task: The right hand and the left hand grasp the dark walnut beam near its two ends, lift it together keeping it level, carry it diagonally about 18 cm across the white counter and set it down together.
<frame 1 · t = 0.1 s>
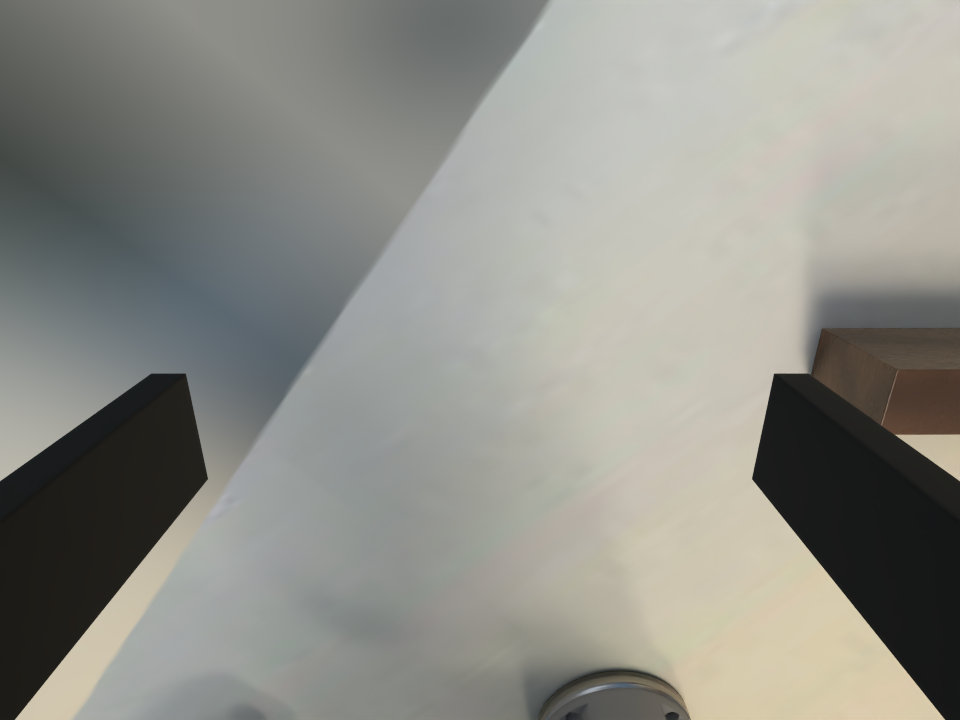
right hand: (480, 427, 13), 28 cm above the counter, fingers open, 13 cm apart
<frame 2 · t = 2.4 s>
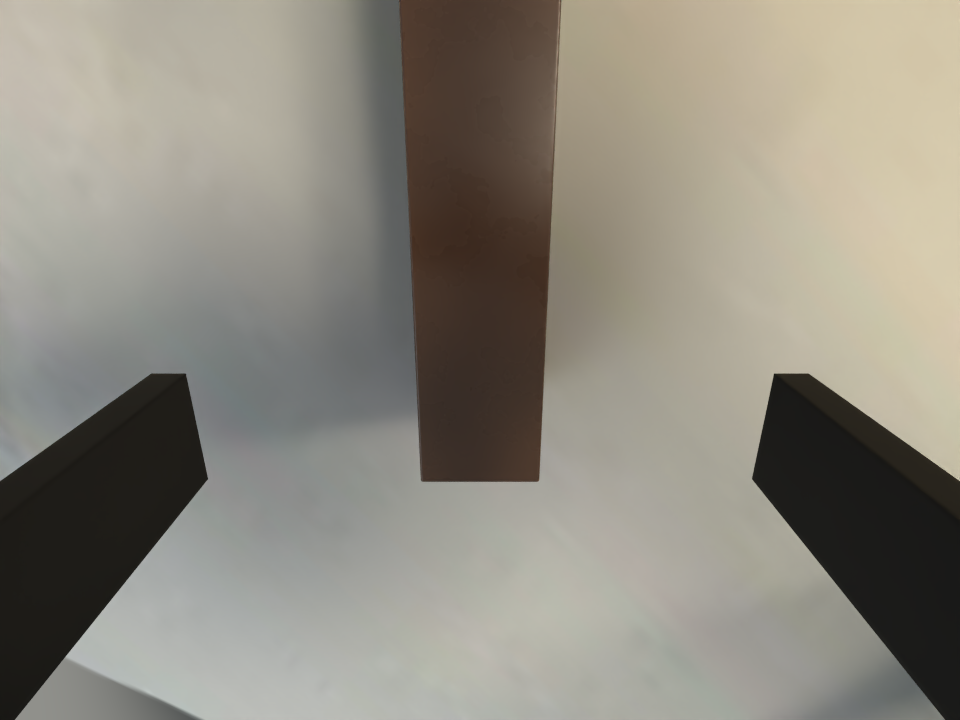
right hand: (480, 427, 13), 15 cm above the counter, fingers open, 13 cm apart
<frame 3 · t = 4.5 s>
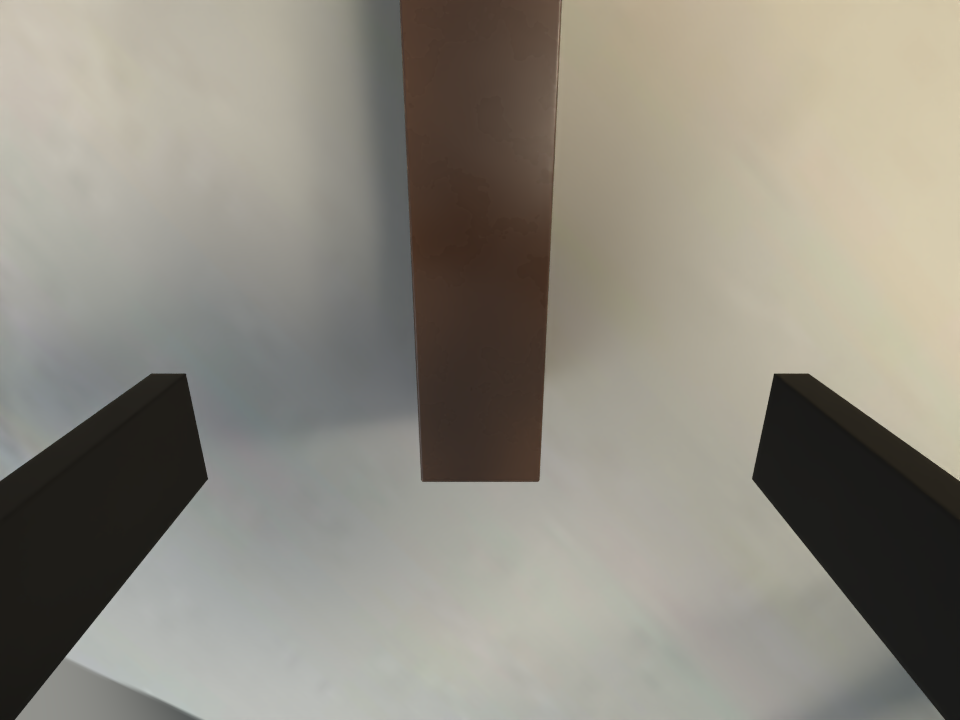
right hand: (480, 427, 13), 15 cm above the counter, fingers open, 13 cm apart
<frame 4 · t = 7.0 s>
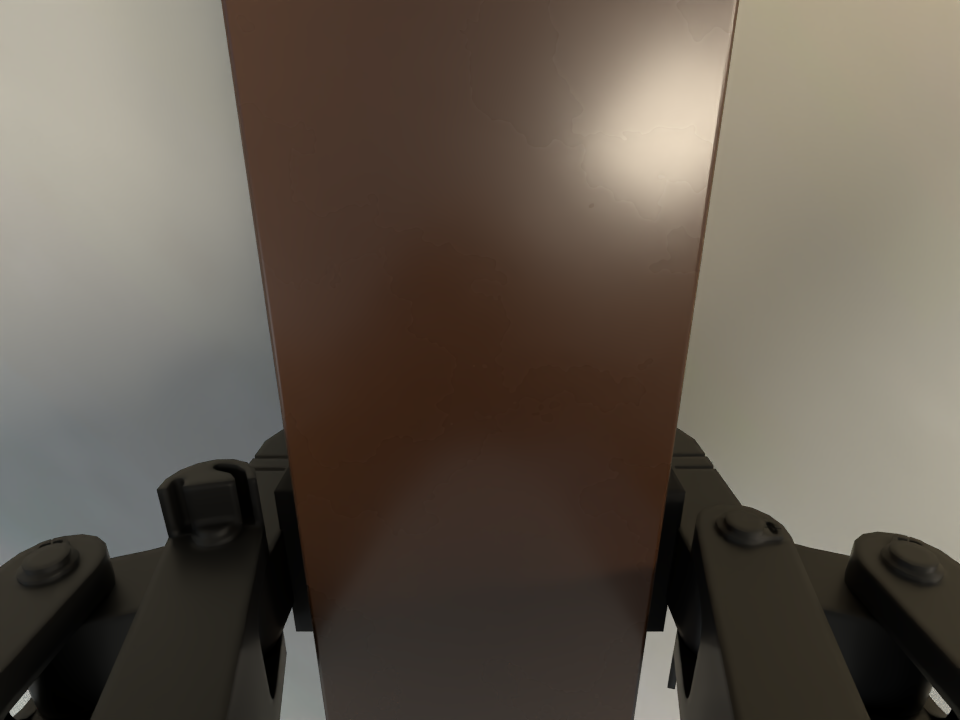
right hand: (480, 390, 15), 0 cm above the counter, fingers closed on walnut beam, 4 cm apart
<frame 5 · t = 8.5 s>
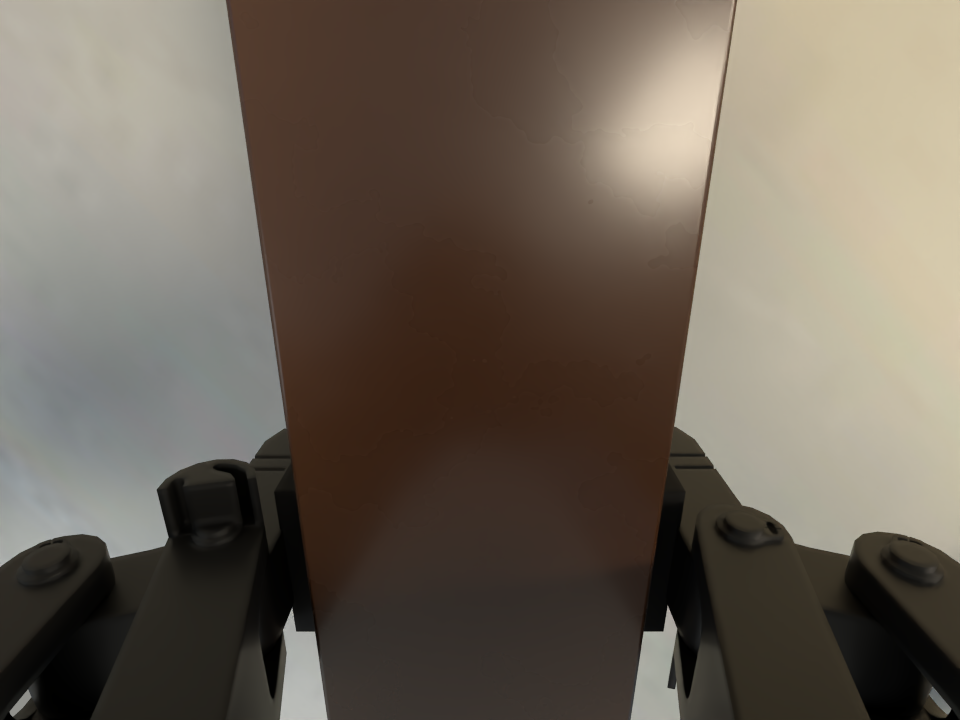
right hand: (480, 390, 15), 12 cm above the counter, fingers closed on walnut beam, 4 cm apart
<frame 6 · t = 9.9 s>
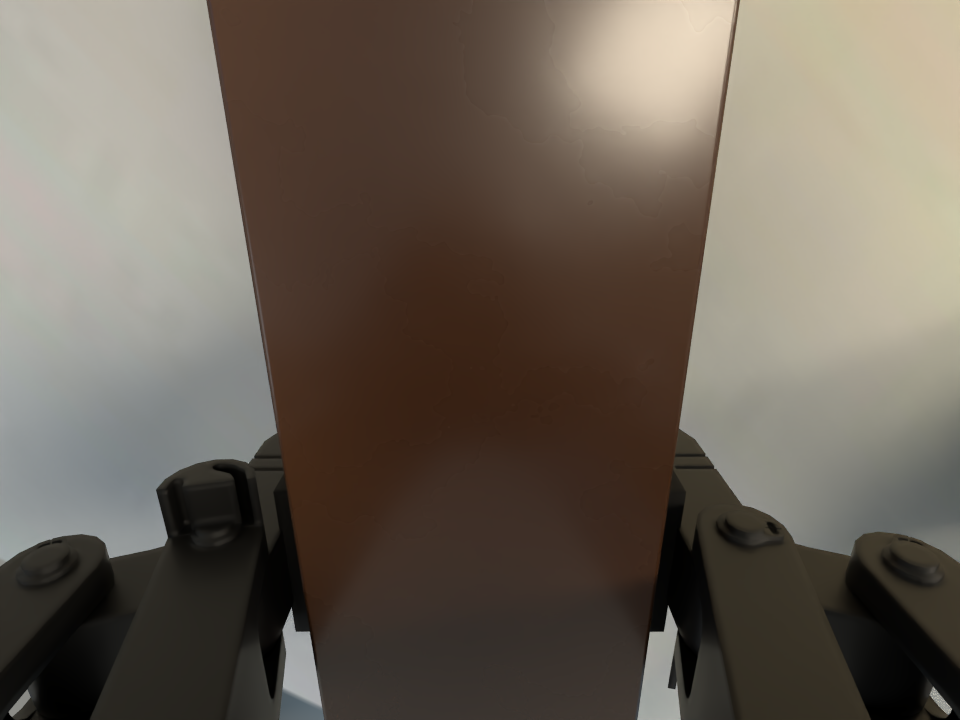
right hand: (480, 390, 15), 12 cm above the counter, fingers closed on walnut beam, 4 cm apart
when the right hand's fingers open (1 cm above the counter, at t = 12.8 s): walnut beam drops 1 cm, on the counter.
when the left hand's fingers open (4 cm above the counter, at t = 12.9 s): walnut beam stays where it is, on the counter.
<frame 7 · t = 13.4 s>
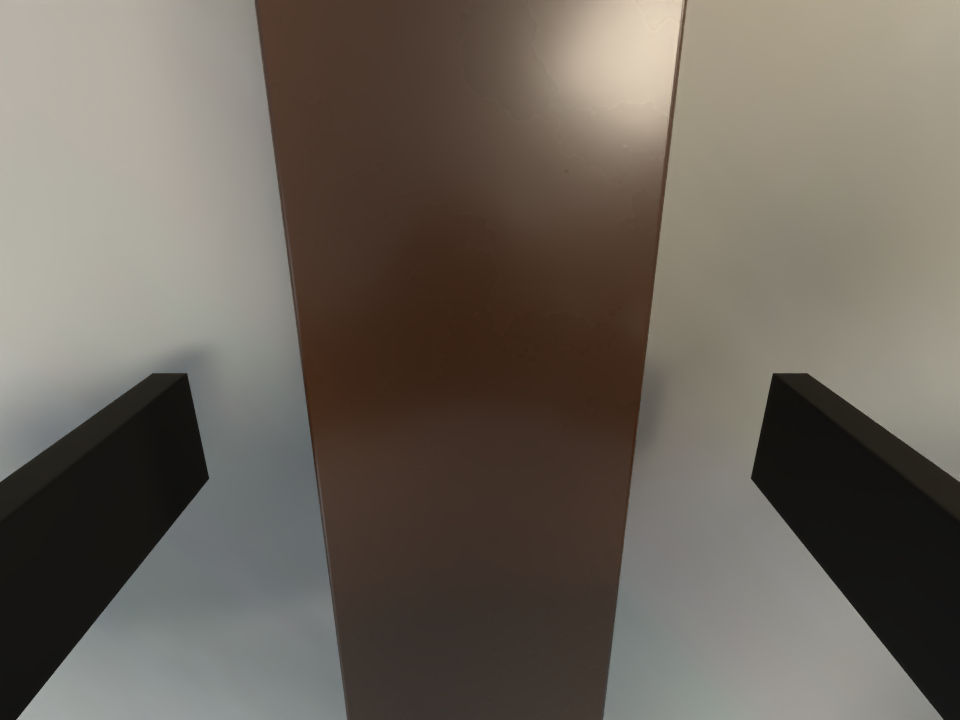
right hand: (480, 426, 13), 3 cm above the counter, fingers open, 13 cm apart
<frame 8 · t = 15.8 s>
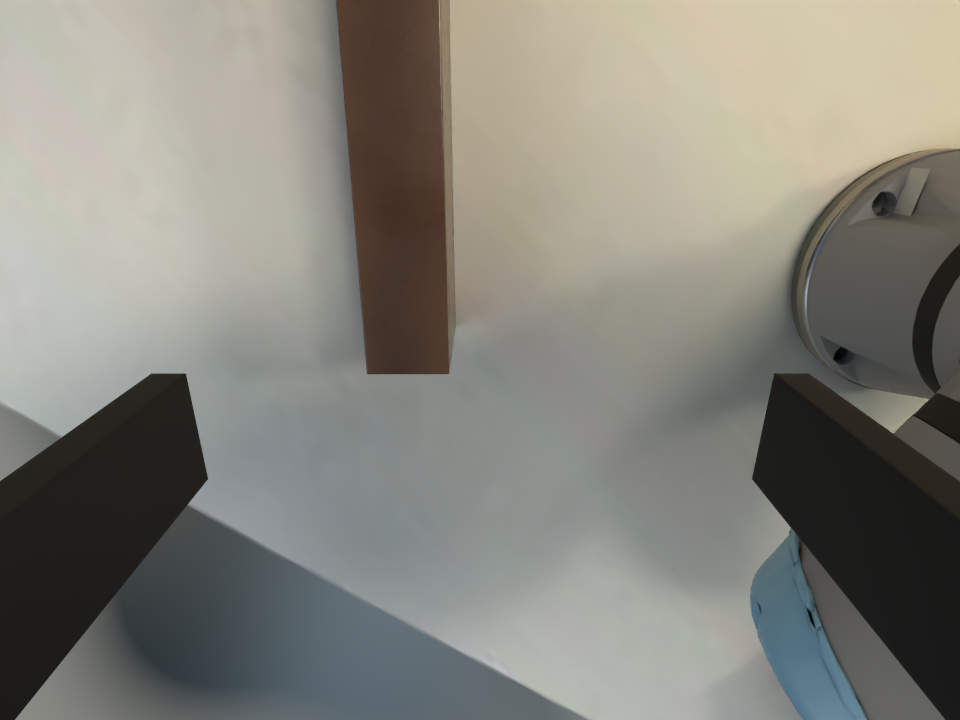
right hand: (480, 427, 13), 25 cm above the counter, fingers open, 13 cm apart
walnut beam: (409, 22, 31), on the counter
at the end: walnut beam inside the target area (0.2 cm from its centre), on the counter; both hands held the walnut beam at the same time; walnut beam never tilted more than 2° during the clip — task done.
